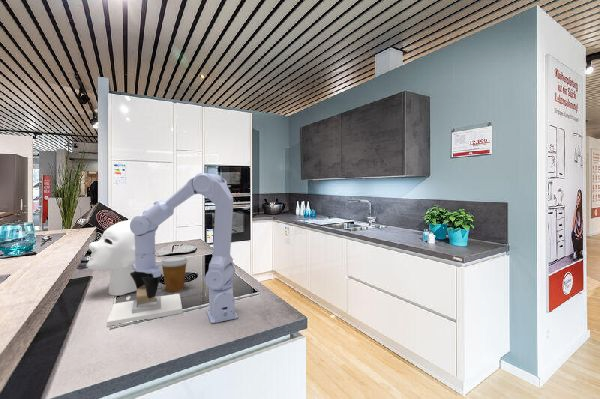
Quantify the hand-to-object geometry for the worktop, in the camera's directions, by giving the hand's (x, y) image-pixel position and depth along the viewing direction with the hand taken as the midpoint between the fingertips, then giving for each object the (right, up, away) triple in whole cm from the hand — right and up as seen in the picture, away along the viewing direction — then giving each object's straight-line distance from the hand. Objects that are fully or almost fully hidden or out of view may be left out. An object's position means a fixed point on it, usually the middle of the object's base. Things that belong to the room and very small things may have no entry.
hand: (146, 294), depth 93 cm
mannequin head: (-19, -4, +18) cm, 26 cm away
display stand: (0, -5, 0) cm, 5 cm away
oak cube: (0, -1, 0) cm, 1 cm away
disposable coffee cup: (+1, -4, +20) cm, 20 cm away
